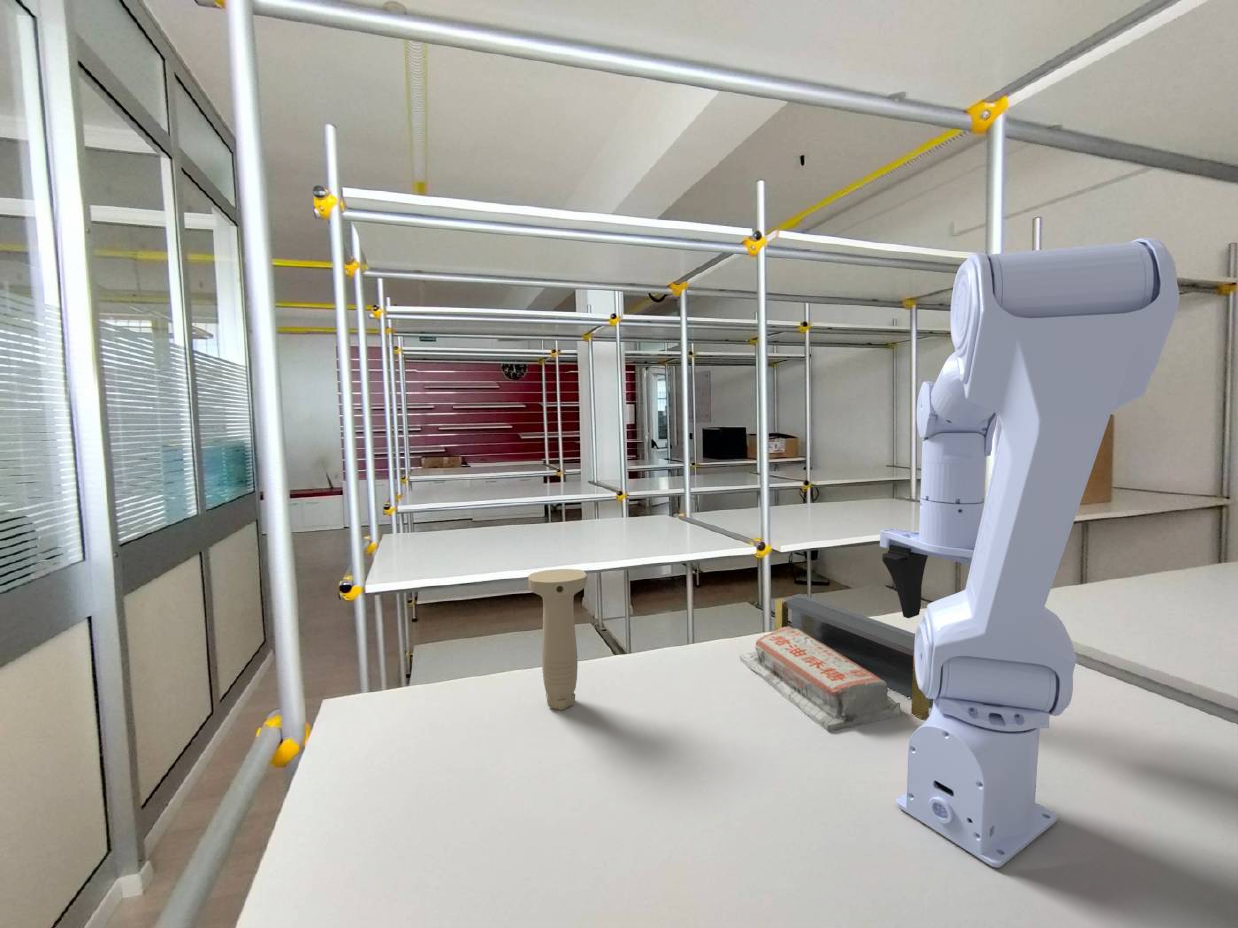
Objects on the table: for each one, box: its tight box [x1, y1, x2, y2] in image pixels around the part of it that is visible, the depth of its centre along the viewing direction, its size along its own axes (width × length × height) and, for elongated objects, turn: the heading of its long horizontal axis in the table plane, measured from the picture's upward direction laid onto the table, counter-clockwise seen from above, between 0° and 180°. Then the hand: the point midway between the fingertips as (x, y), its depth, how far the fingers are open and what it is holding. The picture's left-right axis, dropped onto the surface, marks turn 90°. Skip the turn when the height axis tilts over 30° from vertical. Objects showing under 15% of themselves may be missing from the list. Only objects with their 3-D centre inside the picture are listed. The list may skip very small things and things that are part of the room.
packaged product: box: [739, 626, 901, 733], centre depth 68 cm, size 18×5×10 cm
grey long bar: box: [774, 593, 934, 720], centre depth 70 cm, size 5×21×7 cm, turn 31°
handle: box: [527, 568, 588, 711], centre depth 64 cm, size 5×6×15 cm
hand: (945, 626), depth 60 cm, fingers open, 7 cm apart
